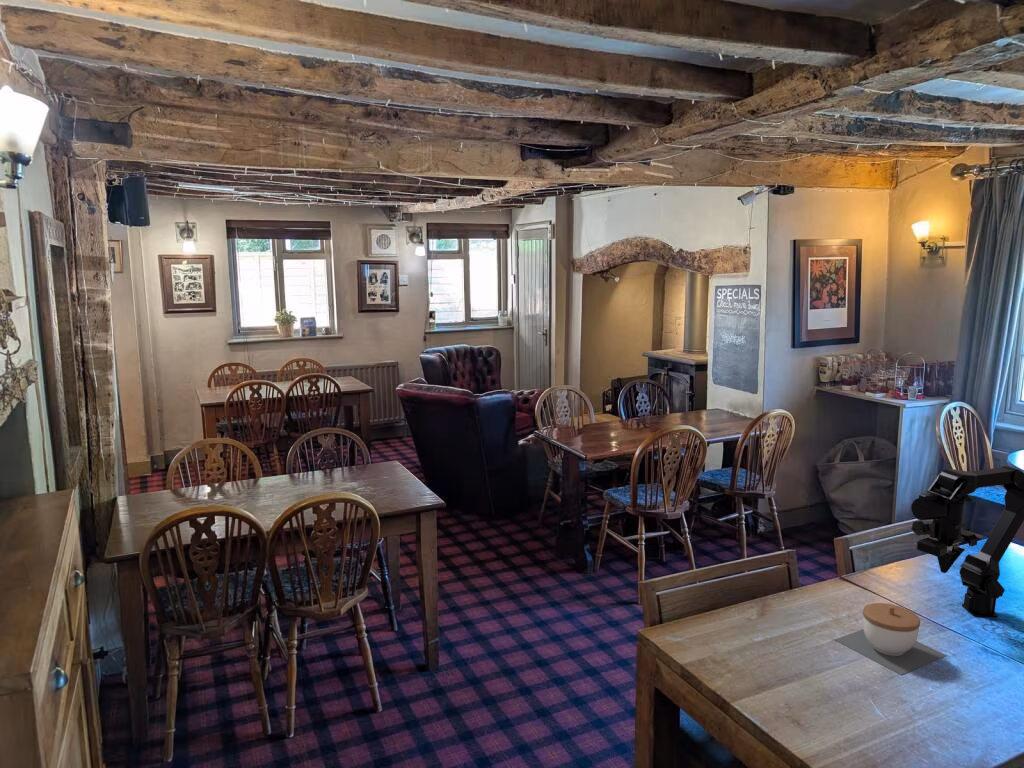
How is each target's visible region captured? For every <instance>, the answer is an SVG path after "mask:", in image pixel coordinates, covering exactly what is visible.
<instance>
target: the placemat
mask: <svg viewBox="0 0 1024 768" xmlns="http://www.w3.org/2000/svg"><path fill="white" fill-rule="evenodd" d="M834 641H835V642H837V643H839V644H841V645H842V646H844V647H846V648H849V650H852V651H854V652H856V653H858V654H860V655H862V656H864V657H865V658H867V659H869V660H871V661H872V662H873V661H874V662H876V664H879V665H881V666H883V667H884V668H886V669H888V670H890V671H893V672H894V673H896V674H897V675H900V676H903V675H905V674H908V673H910V672H912V671H914V670H917V669H919V668H922V667H924V666H926V665H929V664H932V663H934V662H935V661H938V660H939V659H943V658H945V657H946V656H947V654H945V653H942V652H941V651H939V650H936V649H934V648H932V647H930V646H928V645H926V644H925V643H922V642H919V641H918V640H916V642H915V644H914V646H913V647H912V648H911V649H910V650H908V651H907V652H904V654H903V655H900V656H891V655H886V654H883V653H880V652H878V651H877V650H875V649H874V648H873V647H872V644H871V643H870V642H869V641H868V640H867V638H866V636H865V633H864V629H859V630H856V631H854V632H851V633H849V634H846V635H843V636H840V637H838V638H835V639H834Z"/></svg>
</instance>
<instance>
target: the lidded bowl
mask: <svg viewBox="0 0 1024 768" xmlns="http://www.w3.org/2000/svg"><path fill="white" fill-rule="evenodd" d="M862 615H863V616H862V628H863V629H864V633H865V636H866V638H867V640H868V641H869V642H870V643H871V644H872V647H873V648H874V649H875V650H877V651H878V652H880V653H883V654H886V655H891V656H900V655H903V654H904V652H907V651H908V650H910V649H911V648H912V647H913V646H914V644H915V642H916V641H918V640H917V639H918V637H919V632H920V631H919V630H920V625H921V620H920V617H919V616H918V615H917V614H916V613H915V612H913V611H911V610H909V609H907V608H905V607H903V606H899V605H895V604H891V603H887V602H886V603H884V602H873V603H868V604H866V605H864V606H863V609H862Z"/></svg>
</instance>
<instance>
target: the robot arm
mask: <svg viewBox="0 0 1024 768" xmlns="http://www.w3.org/2000/svg"><path fill="white" fill-rule="evenodd" d="M996 486H1001V487H1003V489H1004V490H1005V495H1004V505H1005V508H1004V510H1003V511H1002V513H1001V515H1000V517H999V518H998V520H997V522H996V523H995V525H994V527H993V528H992V529H991V532H990V534H989V535H988V537H987V538H986V541H984V544H983V546H982V547H981V549H980V551H978V553H976V554H974V555H972V554H969V553H968V554H967V555H966V556H965V558H964V561H963V562H962V563H961V564H960V569H959V573H958V574H959V577H960V579H961V584H962V586H965V587H967V589H966V592H965V593H964V599H963V603H961V607H962V608H964V609H965V610H966V611H968V613H969V614H970V615H972V616H973V617H986V618H999V615H998V613H997V612H996V604H997V599H999V598H1000V597H1003V595H1004V593H1005V591H1006V590H1005V587H1004V586H1002V584H1001V583H1000V582H999V578H1000V576H1001V572H1000V571H1001V570H1000V562H1001V560H1002V559H1003V556H1004V555H1005V553H1006V551H1007V550H1008V548H1009V546H1010V545H1011V543H1012V542H1013V539H1014V538H1015V536H1016V534H1017V533H1018V531H1019V529H1020V527H1021V526H1022V524H1023V522H1024V472H1023V471H1022V470H1021V469H1019V468H1016V467H1015V468H1014V467H1011V466H1009V465H1005V466H1001V467H993V468H987V469H979V470H978V469H977V470H971V471H968V470H967V471H966V470H962V469H952V468H944V469H942V470H941V472H940V473H939V474H938V475H937V477H935V479H934V481H933V482H932V483H931V485H930V486H929V488H928V489H927V490H926V492H927V493H919V495H918V497H917V498H916V499H914V500H913V501H912V503H911V506H910V508H911V513H912V515H913V517H915V518H916V520H915V521H913V523H912V525H911V526H912V527H911V528H910V529H911V531H912V532H913V533H915V536H924V535H925V536H926V535H929V537H925V538H922V539H919V540H918V541H916V546H915V549H916V550H918V551H920V552H923V553H926V554H928V555H931V556H934V557H936V558H937V561H938V566H939V570H940V572H941V573H943V574H947V573H948V571H949V570H950V568H951V567H952V566H953V565H954V564H955V562H956V561H957V560H958V558H959V557H960V556H961V555H962V554H963V553H964V552H965V548H962V547H960V544H961V543H964V542H966V543H967V544H968V545H969V547H975V546H978V540H979V539H978V536H977V535H976V534H975V533H972V532H969V531H965V530H962V529H963V528H965V527H966V526H967V522H964V513H965V506H966V504H965V503H968V502H972V501H973V499H972V498H971V496H969V495H970V494H973V493H975V491H977V490H978V489H982V488H987V487H996ZM929 520H930V521H929ZM931 520H932V521H931Z"/></svg>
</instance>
